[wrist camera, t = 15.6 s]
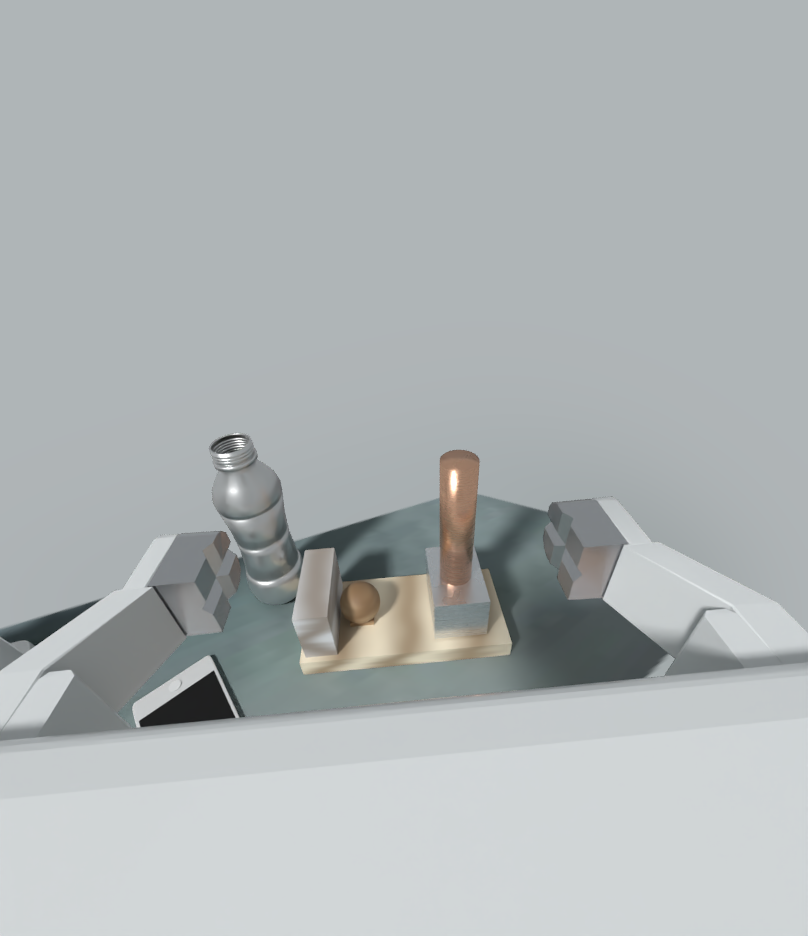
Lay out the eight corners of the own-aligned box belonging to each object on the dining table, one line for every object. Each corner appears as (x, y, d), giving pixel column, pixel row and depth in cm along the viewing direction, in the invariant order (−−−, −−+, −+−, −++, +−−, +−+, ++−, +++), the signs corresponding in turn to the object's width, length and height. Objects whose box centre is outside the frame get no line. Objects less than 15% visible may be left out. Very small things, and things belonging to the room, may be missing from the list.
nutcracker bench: (303, 674, 37) (284, 625, 33) (315, 595, 45) (300, 547, 40) (509, 654, 38) (519, 604, 33) (487, 580, 45) (492, 530, 40)
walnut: (342, 634, 38) (335, 608, 36) (344, 600, 41) (338, 574, 39) (382, 631, 38) (378, 604, 36) (381, 596, 42) (378, 571, 39)
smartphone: (212, 657, 39) (209, 653, 39) (280, 803, 30) (277, 799, 29) (135, 709, 36) (130, 704, 35) (182, 894, 26) (177, 891, 25)
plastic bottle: (259, 622, 42) (191, 473, 31) (250, 578, 47) (190, 436, 36) (316, 598, 44) (274, 451, 33) (302, 558, 49) (261, 419, 38)
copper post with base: (434, 638, 37) (432, 491, 27) (426, 579, 43) (422, 439, 32) (486, 634, 37) (504, 485, 27) (471, 575, 43) (481, 435, 33)
